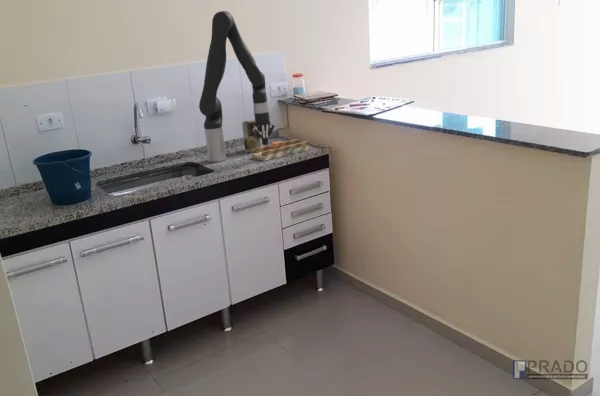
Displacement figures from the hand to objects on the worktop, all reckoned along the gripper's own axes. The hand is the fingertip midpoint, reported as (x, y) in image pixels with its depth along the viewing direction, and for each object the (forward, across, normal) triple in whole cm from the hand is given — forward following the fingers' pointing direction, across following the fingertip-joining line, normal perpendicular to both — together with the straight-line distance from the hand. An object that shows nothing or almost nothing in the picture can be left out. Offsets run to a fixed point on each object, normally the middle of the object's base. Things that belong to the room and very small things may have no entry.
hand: (265, 144), depth 284 cm
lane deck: (+7, +10, +1) cm, 12 cm away
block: (+4, +8, +1) cm, 9 cm away
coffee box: (+7, +5, +21) cm, 22 cm away
